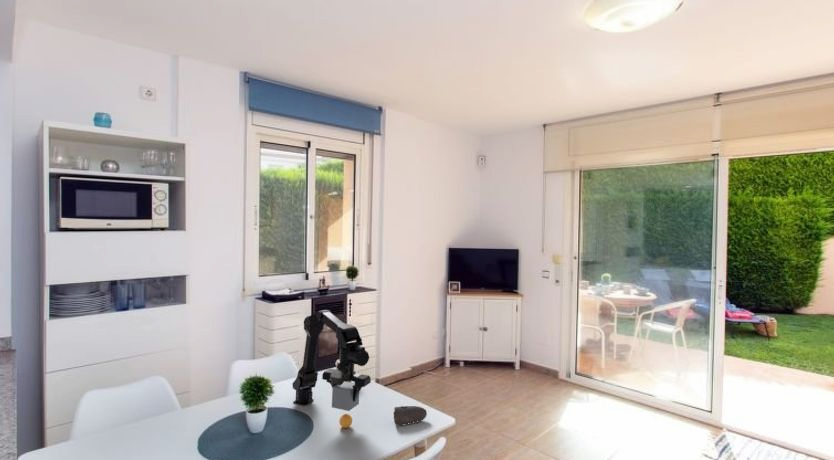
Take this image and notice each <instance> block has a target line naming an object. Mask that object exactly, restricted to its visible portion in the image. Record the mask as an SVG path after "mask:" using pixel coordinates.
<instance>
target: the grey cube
mask: <svg viewBox="0 0 834 460" xmlns="http://www.w3.org/2000/svg"><path fill="white" fill-rule="evenodd" d="M354 385H355V382H352V381H351V382H345V381H344V382H343V384H342V385H338V384H337V385H335V386H333V388H332V387H331V388H332V392H331V394H332V397H331V408H334V409H337V410H343V411H347V412H350V411H351V410H352V409H354V408H355V407H357V406H358V405H359V404H360V393H359V394H358V397H357V399H356V401H355V402H353V393H354V388H353V387H352V386H354Z"/></svg>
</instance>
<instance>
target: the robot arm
mask: <svg viewBox="0 0 834 460" xmlns="http://www.w3.org/2000/svg"><path fill="white" fill-rule="evenodd" d="M325 326H327V327H328V328H329V329H330V330H331V331H332V332H334V333H335V337H336V339H337V340H338V343H337V344H336V345H337V346H338V347H339V359H340V362H339V363H338V365H337V368H336V369H334V368H328V369H326V370H325V371H324V372H322V376H321V378H322V379H321V380H324V381H326V382H327V383H328V384H330V385H331V388H333V386H335V385H337V384H338V385H342V384H343V382H344V381H345V382H347V381H348V380H349V381H351V382H353V383H355V385H354V386H352V387H353V388H354V393H353V402H355V401H356V399H357V397H358V394H359V395H360V392H361V389H362V388H365V387H366V386H368V385H369V384H371V382H372V381H371V380H372V378H371V376H370V375H368V374H364V373H362V374H359V375H358V376H357V375H356V371H355V365H357V366H360V367H364V366H365V365H367V364H368V362H369V360H370V355H369V353H368V351H367V350H366V347H365V346H363V339H362V338H361V335H360V333H359V330H358V328H357V327H356V326H354V325H352V324H348V323H345V322H343V321H342V320H341V319H339V318H338V317H336V315H334V314H333V313H332V312H331V310H329V309H324V310H323V309H322V310H319V311H317V312H315V313H313V314H311V315H308V316H306V317H305V318H304V320H303V331H304V332H305V333H306V339H305V346H304V353H303V354H304V355H303V361H302V366H301V367H300V369H299V370H298V371H297V375H296V378H295V380H293V382H292V389H293V390H295V400H294V401H293V404H297V405H301V406H307V405H308V404H310V403H312V402H314V398H313V388H315V387H316V384H317V382H318V375H319V372H318V371H317V370H316V368H315V363H316V356H317V349H318V342H319V341H318V340H319V336H320V334H322V332H323V330H324V327H325ZM355 375H356V376H355Z"/></svg>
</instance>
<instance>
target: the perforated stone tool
mask: <svg viewBox="0 0 834 460" xmlns="http://www.w3.org/2000/svg"><path fill="white" fill-rule="evenodd" d="M427 413H428V412H427V410H426V409H425V408H423V407H421V406H417V405H416V406H415V405H405V406H402V405H401V406H395V407H394V410H393V420H394V421H393V422H394V424H395V425H396V426H404V425H403V424H407V425H409V424H408V423H413V422H417V421H420V422H422V421H423V420H425V418H426V417H427ZM421 420H422V421H421ZM417 423H418V422H417ZM413 424H414V423H413Z"/></svg>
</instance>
